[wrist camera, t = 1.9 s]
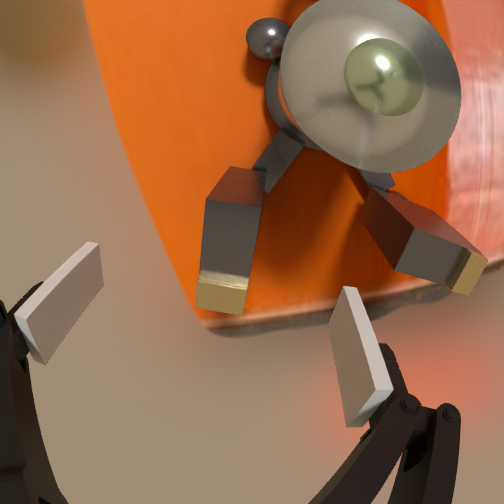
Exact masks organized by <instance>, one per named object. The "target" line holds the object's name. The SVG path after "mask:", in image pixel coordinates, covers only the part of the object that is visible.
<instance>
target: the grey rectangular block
mask: <svg viewBox="0 0 504 504" xmlns="http://www.w3.org/2000/svg"><path fill="white" fill-rule="evenodd" d="M359 218H360V219H361V221H362V222H363V224H364V225H365V227H366V228H367V230H368V231H369V233H370V234H371V235H372V237H373V238H374V240H375V241H376V243H377V244H378V246H379V248H380V249H381V251H382V252H383V254H384V255H385V257H386V258H387V260H388V262H389V263H390V265H391V266H392V268H393V270H394V271H397V272H401V273H404V274H408V275H411V276H415V277H418V278H422V279H425V280H429V281H432V282H435V283H439V284H442V285H446V286H448V287H449V289H450V290H451V291H453V292H457V293H461V294H464V295H467V296H469V294H470V292H471V291H472V289H473V287H474V286H475V284H476V282H477V281H478V279H479V277H480V275H481V273H482V272H483V270H484V268H485V266H486V264H487V262H488V259H487V258H486V257H485V256H484V255H483V254H482V253H481V252H480V251H479V250H478V249H477V248H475V247H474V246H473V245H472V244H471V243H470V242H469V241H468V240H467V239H466V238H464V237H463V236H462V235H461V234H460V233H459V232H458V231H456V230H455V229H454V228H453V227H452V226H451V225H449V224H448V223H447V222H446V221H445V220H443V219H442V218H441V217H440V216H438V215H437V214H436V213H435V212H433V211H432V210H430V209H427V208H425V207H423V206H420V205H418V204H415V203H413V202H411V201H408V200H407V199H406V198H405V197H404V196H402V195H401V194H400V193H398V192H396V191H386V192H385V191H383V190H380V189H377V188H374V187H372V186H371V187H370V190H369V193H368V195H367V198H366V201H365V203H364V206H363V209H362V211H361V214H360V216H359Z"/></svg>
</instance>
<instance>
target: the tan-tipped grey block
mask: <svg viewBox="0 0 504 504" xmlns="http://www.w3.org/2000/svg"><path fill="white" fill-rule="evenodd" d="M265 180H266V172H262V171H256V170H250V169H244V168H238V167H231V166H230V167H229V168H228V170H227V171H226V172H225V174H224V175H223V176H222V178H221V179H220V180H219V182H218V183H217V184H216V186H215V187H214V189H213V190H212V191H211V193H210V194H209V195H208V197H207V198H206V203H205V213H204V224H203V235H202V246H201V258H200V271H199V277H198V280H197V288H196V305H195V307H197V308H202V309H207V310H212V311H218V312H223V313H229V314H234V315H240V316H243V310H244V305H245V299H246V294H247V288H248V282H249V276H250V271H251V265H252V260H253V254H254V249H255V243H256V238H257V232H258V227H259V221H260V216H261V210H262V203H263V196H264V188H265Z"/></svg>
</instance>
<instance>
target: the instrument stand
mask: <svg viewBox="0 0 504 504" xmlns="http://www.w3.org/2000/svg"><path fill="white" fill-rule="evenodd" d="M246 41H247V44H248V46H249V49H250V51H251V53H252V54H253V55H254V56H255V57H256V58H257V59H259V60H261V61H264V62H272V64H271V66H270V68H269V71H268V73H267V76H266V81H265V99H266V103H267V107H268V109H269V112H270V114H271V116H272V118H273V120H274V121H275V123H276V124H277V126H278V127H279V128H280V129H279V131H278V132H277V133H276V135H275V136H274V138H273V139H272V140H271V142H270V143H269V144H268V146H267V147H266V149H265V150H264V151H263V153H262V154H261V156H260V157H259V158H258V160H257V161H256V163H255V164H254V165H253V167H252V168H251V170H256V171H262V172H266V180H265V188H264V191H265V192H267V193H268V194H269V193H270V191H271V190H272V188H273V187H274V186H275V184H276V183H277V182H278V180H279V179H280V178H281V176H282V175H283V174H284V172H285V171H286V170H287V168H288V167H289V166H290V164H291V163H292V162H293V160H294V159H295V158H296V156H297V155H298V154H299V152H300V151H301V150H302V149H303V147H304V146H306V147H308V148H311V149H315V150H321V151H326V152H327V153H329V154H330V155H331V156H333V157H335V158H336V159H338V160H340V161H342V162H343V163H346V164H348V165H351V166H353V167H355V168H356V169H357V170H358V172H359V174H360V176H361V177H362V179H363V181H364V183H365V184H366V186H367V188H368V190H370V187H371V186H372V187H374V188H377V189H380V190H383V191H386V190H388V189H389V188H391V187H393V186H394V185H396V184H395V182H394V180H393V178H392V176H391V174H390V173H392V172H401V171H405V170H409V169H412V168H414V167H417V166H419V165H421V164H423V163H425V162H426V161H428V160H430V159H431V158H432V157H433V156H435V155H436V154H437V153H438V152H439V151H440V150H441V149H442V148H443V147H444V146H445V144H446V143H447V141H448V140H449V138H450V137H451V135H452V133H453V131H454V129H455V126H456V123H457V121H458V117H459V112H460V107H461V85H460V79H459V74H458V70H457V67H456V64H455V61H454V59H453V56H452V54H451V52H450V50H449V48H448V47H447V45H446V43H445V41H444V40H443V39H442V37H441V36H440V34H439V33H438V32H437V31H436V30H435V28H434V27H433V26H432V25H431V24H430V23H429V22H428V21H427V20H426V19H425V18H423V17H422V16H421V15H420V14H419V13H417V12H416V11H414V10H413V9H412V8H410V7H408V6H406V5H405V4H403V3H401V2H399V1H397V0H319V1H317V2H316V3H314V4H313V5H311V6H309V7H308V8H307V9H306V10H305V11H304V12H303V13H302V14H301V15H300V16H299V17H298V18H297V19H296V21H295V22H294V23H293V25H292V27H291V28H290V27H289V26H288V25H287V24H286V23H285V22H283V21H281V20H279V19H275V18H263V19H260V20H257V21H256V22H254V23H253V24H252V25H251V26H250V27H249V29H248V31H247V34H246Z"/></svg>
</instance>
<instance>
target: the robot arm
mask: <svg viewBox="0 0 504 504" xmlns="http://www.w3.org/2000/svg"><path fill="white" fill-rule="evenodd" d="M103 286H104V283H103V275H102V268H101V260H100V249H99V244H98V243H92V242H87V243H86V244H84V245H83V246H82V247H81V248H80V249H79V250H78V251H77V252H76V253H75V254H73V255H72V256H71V257H70V258H69V259H68V260H67V261H66V262H65V263H64V264H63V265H62V266H61V267H59V268H58V269H57V270H56V271H55V272H54V273H53V274H52V275H51V276H50V277H49V278H48V279H47V280H46V281H45V282H40V283H38V284H37V285H35V286H33V287H32V288H31V289H30V290H29V291H28V293H26V294H25V295H24V296H23V298H22V299H20V301H18V302H17V304H16V305H15V306H14V307H13V308H12V309H11V310H10V311H9V312H8V313H7V311H6V309H5V306H4V303H3V302H2V301H1V300H0V504H68V502H67V501H66V499H65V498H64V496H63V495H62V493H61V492H60V490H59V488H58V486H57V483H56V481H55V478H54V475H53V472H52V469H51V466H50V463H49V460H48V456H47V453H46V450H45V446H44V443H43V439H42V435H41V431H40V427H39V423H38V419H37V414H36V409H35V404H34V398H33V393H32V386H31V379H30V372H29V364H28V359H27V357H26V355H27V354H28V353H29V351H30V353H31V355H32V357H33V359H34V360H35V361H37V362H39V363H41V364H43V365H46V364H47V363H48V361H49V360H50V358H51V357H52V355H53V354H54V352H55V351H56V349H57V348H58V346H59V345H60V343H61V342H62V341H63V339H64V338H65V336H66V335H67V333H68V332H69V331H70V329H71V328H72V327H73V325H74V324H75V322H76V321H77V320H78V318H79V317H80V316H81V314H82V313H83V312H84V310H85V309H86V308H87V306H88V305H89V304H90V302H91V301H92V300H93V299H94V297H95V296H96V294H97V293H98V292H99V291H100V290H101V288H102V287H103ZM328 330H329V334H330V339H331V344H332V349H333V354H334V359H335V365H336V370H337V375H338V381H339V387H340V392H341V398H342V404H343V410H344V417H345V423H346V427H363V426H364V425H365V424H366V422H367V421H368V420H369V424H370V428H369V429H368V430H367V431H366V433H365V434H364V435H363V436H362V437H361V438H360V439H361V440H360V442H359V443H358V445H357V446H356V447H355V449H354V450H353V451H352V453H351V454H350V455H349V456H348V458H347V459H346V461H345V462H344V463H343V464H342V465H341V467H340V468H339V469H338V470H337V472H336V473H335V474H334V476H332V478H331V479H330V480H329V481H328V482H327V483H326V485H325V486H324V487H323V488H322V489H321V490H320V492H319V493H318V494H317V495H316V496H315V497H314V498H313V499H312V500H311V501H310V502H309V503H308V504H371V502H372V501H373V499H374V498H375V497H376V495H377V494H378V492H379V491H380V489H381V488H382V486H383V484H384V483H385V481H386V480H387V478H388V476H389V475H390V473H391V471H392V470H393V468H394V466H395V465H396V463H397V461H398V459H399V457H400V456H401V454H402V457H401V461H400V465H399V468H398V472H397V475H396V479H395V482H394V486H393V489H392V492H391V495H390V498H389V501H388V504H451V503H452V498H453V493H454V487H455V480H456V473H457V465H458V456H459V445H460V427H461V417H460V413H459V411H458V409H457V408H456V407H455V406H453V405H452V404H449V403H444V404H441V405H440V406H439V407H438V408H437V409H431V408H427V407H423V406H421V403H420V401H419V400H418V399H417V398H416V397H415V396H413V395H411V394H409V393H408V391H407V388H406V385H405V383H404V379H403V377H402V374H401V371H400V369H399V366H398V363H397V362H396V358H395V355H394V353H393V351H392V350H391V349H390V347H389V346H388V345H387V344H382V343H378V342H377V339H376V337H375V334H374V331H373V328H372V326H371V323H370V320H369V318H368V315H367V313H366V310H365V307H364V305H363V302H362V300H361V297H360V295H359V292H358V290H357V288H355V287H349V286H343V288H342V290H341V293H340V296H339V298H338V301H337V303H336V306H335V309H334V311H333V314H332V316H331V319H330V321H329V324H328ZM402 452H403V453H402Z"/></svg>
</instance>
